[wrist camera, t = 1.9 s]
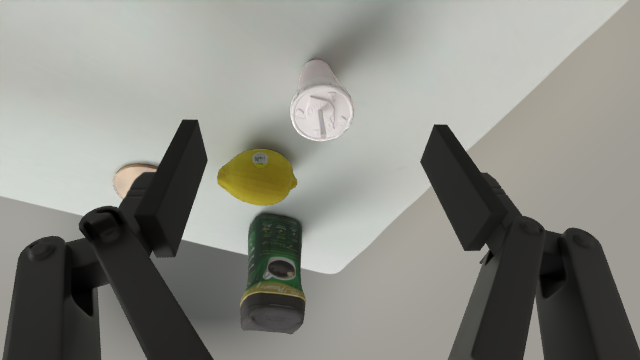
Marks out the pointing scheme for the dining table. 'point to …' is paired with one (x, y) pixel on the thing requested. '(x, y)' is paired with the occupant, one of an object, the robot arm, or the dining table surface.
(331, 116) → the white drink cup
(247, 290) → the coffee jar
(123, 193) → the cork coaster
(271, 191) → the lemon
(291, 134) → the dining table surface
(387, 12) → the dining table surface
